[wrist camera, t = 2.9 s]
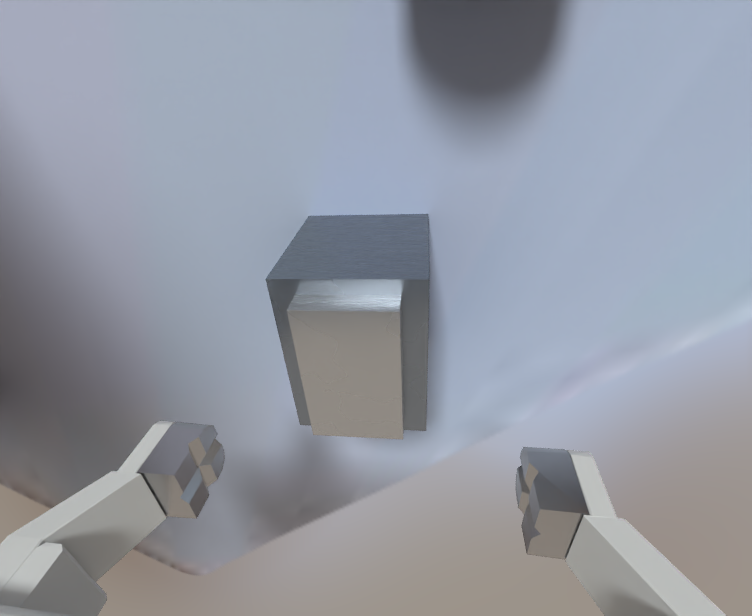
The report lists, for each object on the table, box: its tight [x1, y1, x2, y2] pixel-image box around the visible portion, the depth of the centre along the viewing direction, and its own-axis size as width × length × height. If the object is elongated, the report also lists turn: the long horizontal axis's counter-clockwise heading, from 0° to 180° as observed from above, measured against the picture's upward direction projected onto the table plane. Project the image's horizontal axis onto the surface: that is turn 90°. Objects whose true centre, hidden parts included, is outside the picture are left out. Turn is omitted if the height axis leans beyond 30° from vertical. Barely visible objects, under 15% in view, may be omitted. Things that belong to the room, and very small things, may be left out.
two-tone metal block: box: [266, 214, 429, 439], centre depth 14 cm, size 4×6×6 cm
